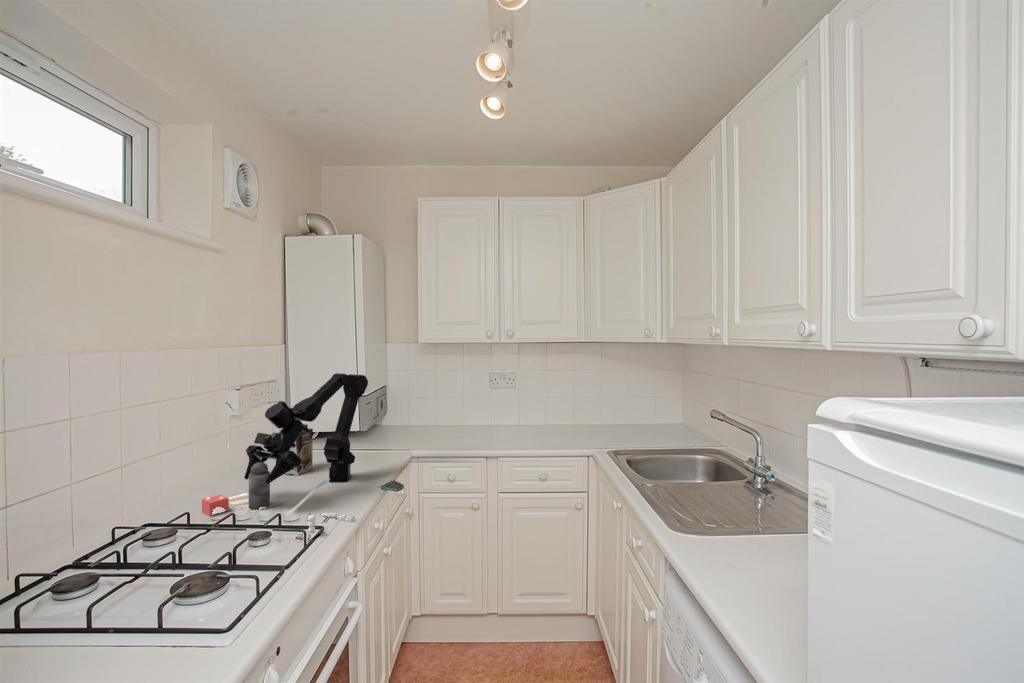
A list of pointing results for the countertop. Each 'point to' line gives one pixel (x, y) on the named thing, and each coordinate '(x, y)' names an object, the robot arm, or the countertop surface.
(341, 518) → the game pieces
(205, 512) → the red arch block
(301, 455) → the coffee box
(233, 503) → the game track
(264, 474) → the pawn
